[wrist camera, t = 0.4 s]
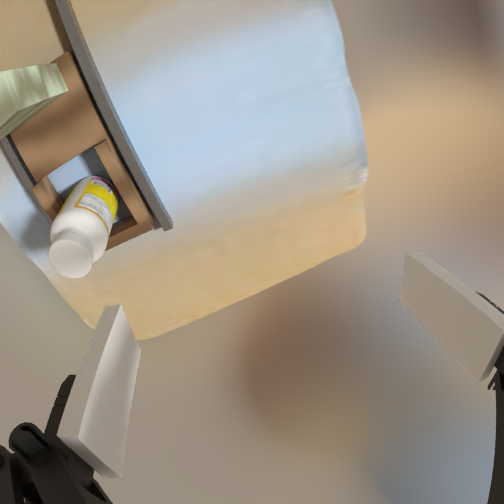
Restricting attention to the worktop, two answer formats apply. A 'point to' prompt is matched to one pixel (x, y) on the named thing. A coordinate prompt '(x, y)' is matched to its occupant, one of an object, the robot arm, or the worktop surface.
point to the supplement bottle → (83, 226)
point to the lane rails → (109, 117)
